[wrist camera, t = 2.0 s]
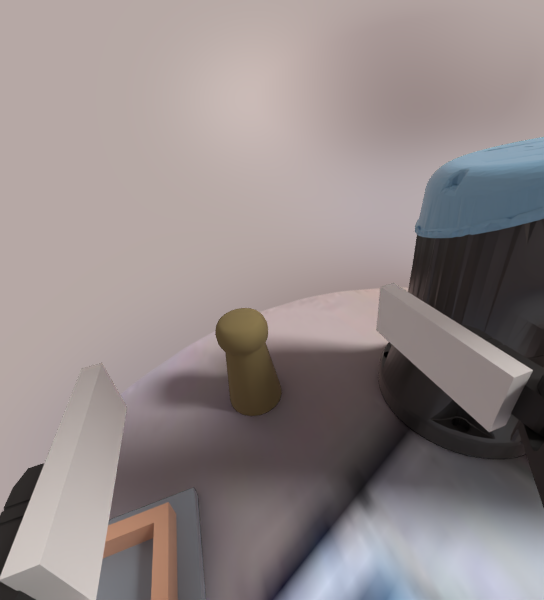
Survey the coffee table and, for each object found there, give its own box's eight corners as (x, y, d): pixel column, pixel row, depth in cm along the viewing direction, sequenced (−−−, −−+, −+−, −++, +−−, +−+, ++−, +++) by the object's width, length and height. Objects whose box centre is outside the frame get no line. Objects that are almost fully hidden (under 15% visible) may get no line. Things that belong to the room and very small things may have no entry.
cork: (222, 388, 34) (199, 314, 28) (265, 366, 36) (252, 293, 31) (243, 426, 30) (221, 346, 24) (291, 398, 32) (281, 319, 26)
